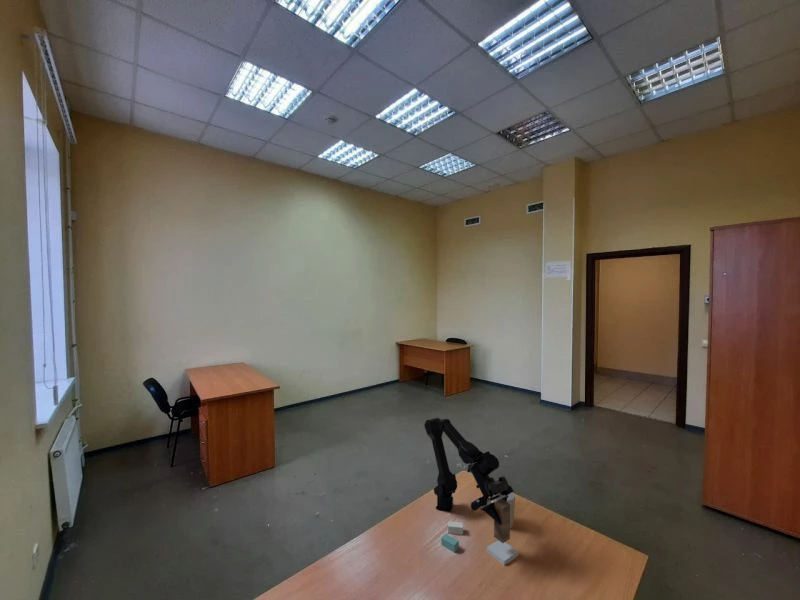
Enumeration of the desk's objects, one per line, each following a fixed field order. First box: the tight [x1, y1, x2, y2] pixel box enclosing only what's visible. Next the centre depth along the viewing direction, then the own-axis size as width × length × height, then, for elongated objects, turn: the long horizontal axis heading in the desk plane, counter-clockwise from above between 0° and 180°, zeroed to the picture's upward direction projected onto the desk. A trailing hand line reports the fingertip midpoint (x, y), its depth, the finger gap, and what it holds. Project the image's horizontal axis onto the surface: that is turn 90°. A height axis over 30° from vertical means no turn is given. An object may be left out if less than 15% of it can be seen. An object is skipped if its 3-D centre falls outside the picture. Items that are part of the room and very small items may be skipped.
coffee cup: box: [492, 492, 516, 529], centre depth 140 cm, size 9×9×12 cm
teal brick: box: [440, 533, 460, 554], centre depth 127 cm, size 6×3×3 cm, turn 48°
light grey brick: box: [447, 521, 464, 535], centre depth 135 cm, size 6×3×3 cm, turn 83°
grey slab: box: [486, 539, 519, 566], centre depth 123 cm, size 8×8×2 cm
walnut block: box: [493, 499, 511, 543], centre depth 123 cm, size 4×4×13 cm
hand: (504, 522), depth 122 cm, fingers closed on walnut block, 4 cm apart
